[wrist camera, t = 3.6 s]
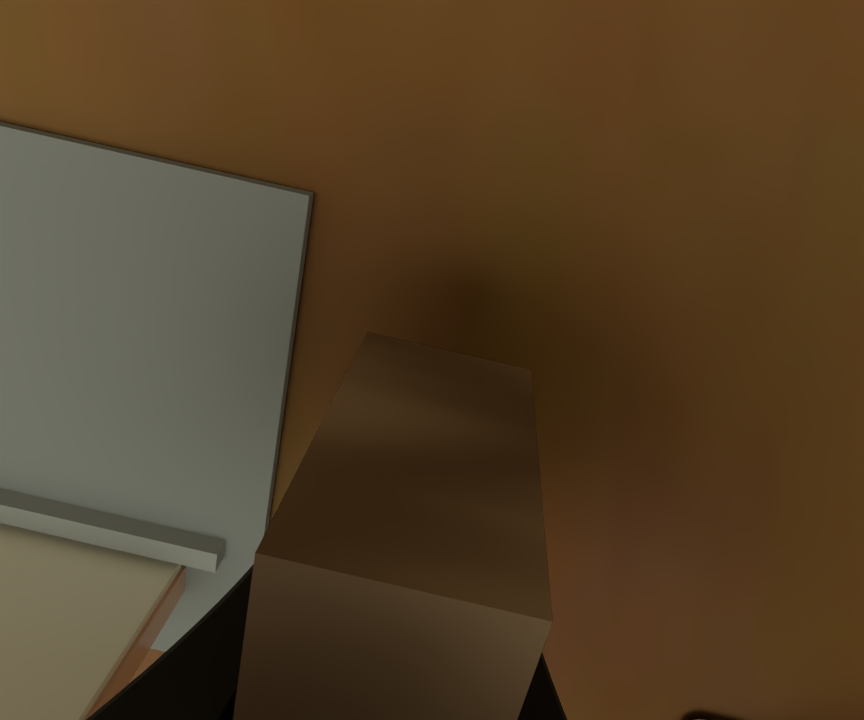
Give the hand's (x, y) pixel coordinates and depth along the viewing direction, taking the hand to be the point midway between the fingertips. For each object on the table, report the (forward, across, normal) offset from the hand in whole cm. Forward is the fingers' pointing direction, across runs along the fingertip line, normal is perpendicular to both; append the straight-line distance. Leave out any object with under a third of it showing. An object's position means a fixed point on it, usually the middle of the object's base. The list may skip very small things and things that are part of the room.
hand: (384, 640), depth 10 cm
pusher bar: (+2, 0, 0) cm, 2 cm away
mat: (+8, +9, +3) cm, 12 cm away
